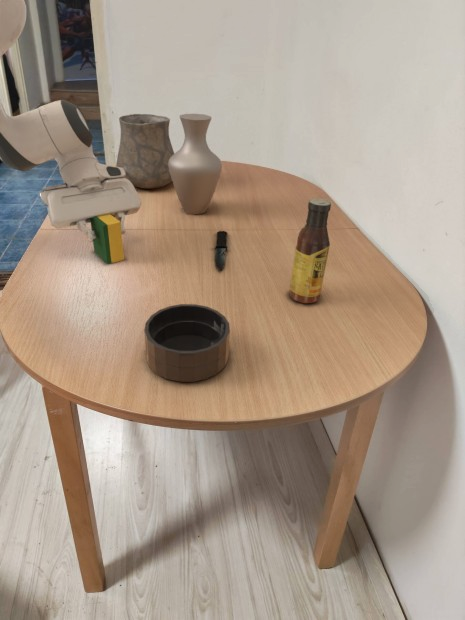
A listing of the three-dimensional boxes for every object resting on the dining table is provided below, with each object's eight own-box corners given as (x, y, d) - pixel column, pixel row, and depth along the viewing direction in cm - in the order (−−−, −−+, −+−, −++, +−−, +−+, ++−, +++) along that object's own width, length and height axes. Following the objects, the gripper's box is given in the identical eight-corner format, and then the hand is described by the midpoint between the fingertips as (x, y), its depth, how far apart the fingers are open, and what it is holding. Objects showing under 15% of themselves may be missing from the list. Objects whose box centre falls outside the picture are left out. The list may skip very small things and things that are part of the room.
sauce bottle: (313, 308, 88) (330, 211, 77) (283, 299, 91) (296, 203, 80) (324, 294, 93) (341, 200, 82) (296, 285, 96) (309, 193, 85)
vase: (202, 223, 121) (203, 124, 107) (159, 211, 126) (155, 116, 113) (229, 208, 132) (234, 116, 118) (188, 197, 137) (188, 108, 124)
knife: (216, 230, 115) (228, 230, 114) (216, 235, 115) (228, 235, 115) (212, 268, 97) (226, 268, 97) (212, 274, 98) (226, 274, 98)
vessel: (96, 184, 143) (88, 117, 132) (146, 170, 159) (143, 108, 148) (146, 200, 133) (142, 129, 122) (194, 183, 149) (194, 118, 138)
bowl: (176, 396, 66) (175, 365, 63) (131, 350, 75) (129, 320, 71) (244, 362, 74) (246, 332, 70) (197, 324, 82) (197, 296, 79)
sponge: (107, 264, 99) (103, 225, 94) (94, 252, 104) (89, 214, 99) (124, 259, 101) (120, 222, 96) (110, 248, 106) (106, 211, 101)
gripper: (38, 180, 92) (63, 241, 91) (130, 167, 103) (153, 222, 102) (35, 195, 98) (58, 253, 97) (123, 181, 109) (144, 233, 108)
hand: (108, 237), depth 100 cm, fingers open, 5 cm apart
